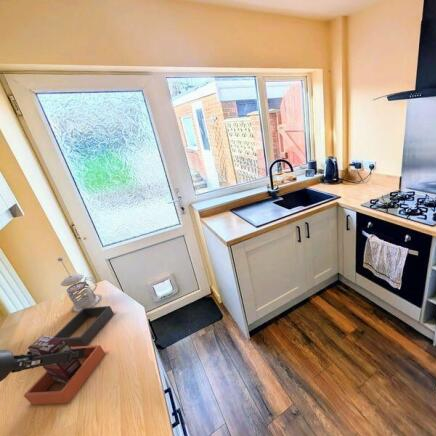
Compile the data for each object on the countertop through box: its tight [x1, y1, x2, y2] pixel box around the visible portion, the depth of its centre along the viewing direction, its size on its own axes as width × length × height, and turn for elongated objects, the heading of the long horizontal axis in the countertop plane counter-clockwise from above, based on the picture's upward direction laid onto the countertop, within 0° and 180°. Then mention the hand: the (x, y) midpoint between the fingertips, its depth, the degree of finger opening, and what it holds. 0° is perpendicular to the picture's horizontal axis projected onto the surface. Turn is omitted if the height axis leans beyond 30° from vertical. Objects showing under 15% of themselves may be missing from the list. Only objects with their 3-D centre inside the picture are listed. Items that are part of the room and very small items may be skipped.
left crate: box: [23, 344, 106, 406], centre depth 78 cm, size 12×16×4 cm
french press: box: [56, 256, 100, 313], centre depth 107 cm, size 10×12×25 cm
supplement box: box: [27, 334, 83, 384], centre depth 76 cm, size 9×5×16 cm, turn 76°
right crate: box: [53, 305, 115, 347], centre depth 96 cm, size 12×16×4 cm
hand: (69, 353), depth 79 cm, fingers closed on supplement box, 9 cm apart
